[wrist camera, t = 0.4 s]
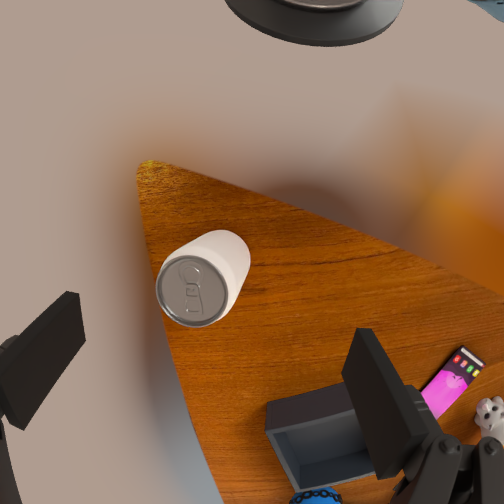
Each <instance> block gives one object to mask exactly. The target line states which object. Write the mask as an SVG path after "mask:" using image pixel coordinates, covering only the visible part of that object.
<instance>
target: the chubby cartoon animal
mask: <svg viewBox="0 0 504 504" xmlns="http://www.w3.org/2000/svg"><path fill="white" fill-rule="evenodd" d="M476 411H477V414H476V416H475V418H474V420H475V422H476V424H478V425H479V426H480V428H481V436H482V438H484V437H486V436H491V437H494V438H496V439H497V440H499V441H500V442H501V444H502V445H503V446H504V403H503V400H502V398H501V397H499V396H496V397H494V398H493V399H492V400H490V399H488V398H484V399H482V400H480V401H479V402H478V404H477V407H476Z"/></svg>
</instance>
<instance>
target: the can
mask: <svg viewBox="0 0 504 504" xmlns="http://www.w3.org/2000/svg"><path fill="white" fill-rule="evenodd" d="M249 267H250V253H249V250H248V247H247V245H246V244H245V242H244V241H243V240H242V239H241V238H240V237H239V236H238V235H236V234H234V233H232V232H230V231H227V230H215V231H211V232H208V233H206V234H204V235H202V236H200V237H198V238H197V239H195V240H193V241H191V242H189V243H188V244H186V245H184V246H182V247H181V248H179V249H177V250H176V251H174V252H173V253H172V254H171V255H170V256H169V257H168V258H167V259H166V260H165V261H164V263H163V265H162V267H161V269H160V272H159V274H158V276H157V280H156V295H157V299H158V302H159V304H160V306H161V308H162V309H163V311H164V312H165V313H166V314H167V315H168V316H169V317H170V318H171V319H172V320H174V321H175V322H177V323H179V324H181V325H184V326H187V327H194V328H198V327H204V326H207V325H210V324H212V323H214V322H215V321H217V320H219V319H221V318H222V317H224V316H225V315H226V314H227V313H228V312H229V310H230V309H231V308H232V306H233V304H234V303H235V300H236V298H237V296H238V294H239V292H240V290H241V287H242V285H243V283H244V280H245V278H246V276H247V273H248V271H249Z"/></svg>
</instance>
